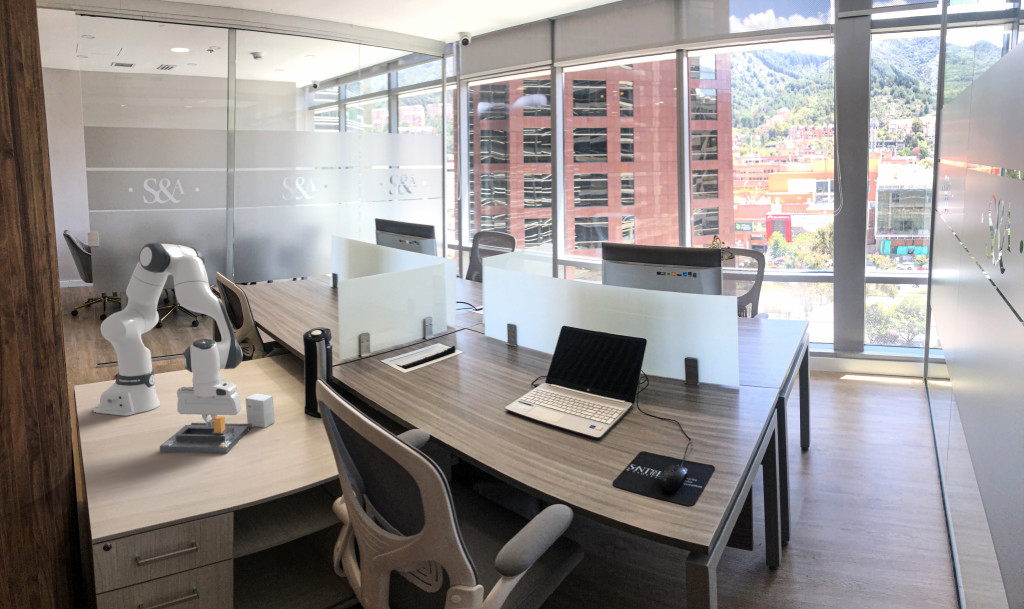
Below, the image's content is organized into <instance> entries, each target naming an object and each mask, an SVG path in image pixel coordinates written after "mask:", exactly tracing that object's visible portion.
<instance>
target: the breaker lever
mask: <svg viewBox="0 0 1024 609" xmlns="http://www.w3.org/2000/svg"><path fill="white" fill-rule="evenodd" d="M213 423H214V431H213V432H212V433H211V435H223V434H224V433H225V432H226V431H227V430H228V429H225V423H226V421H225V415H217V417H216V418H215V419H213Z"/></svg>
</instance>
